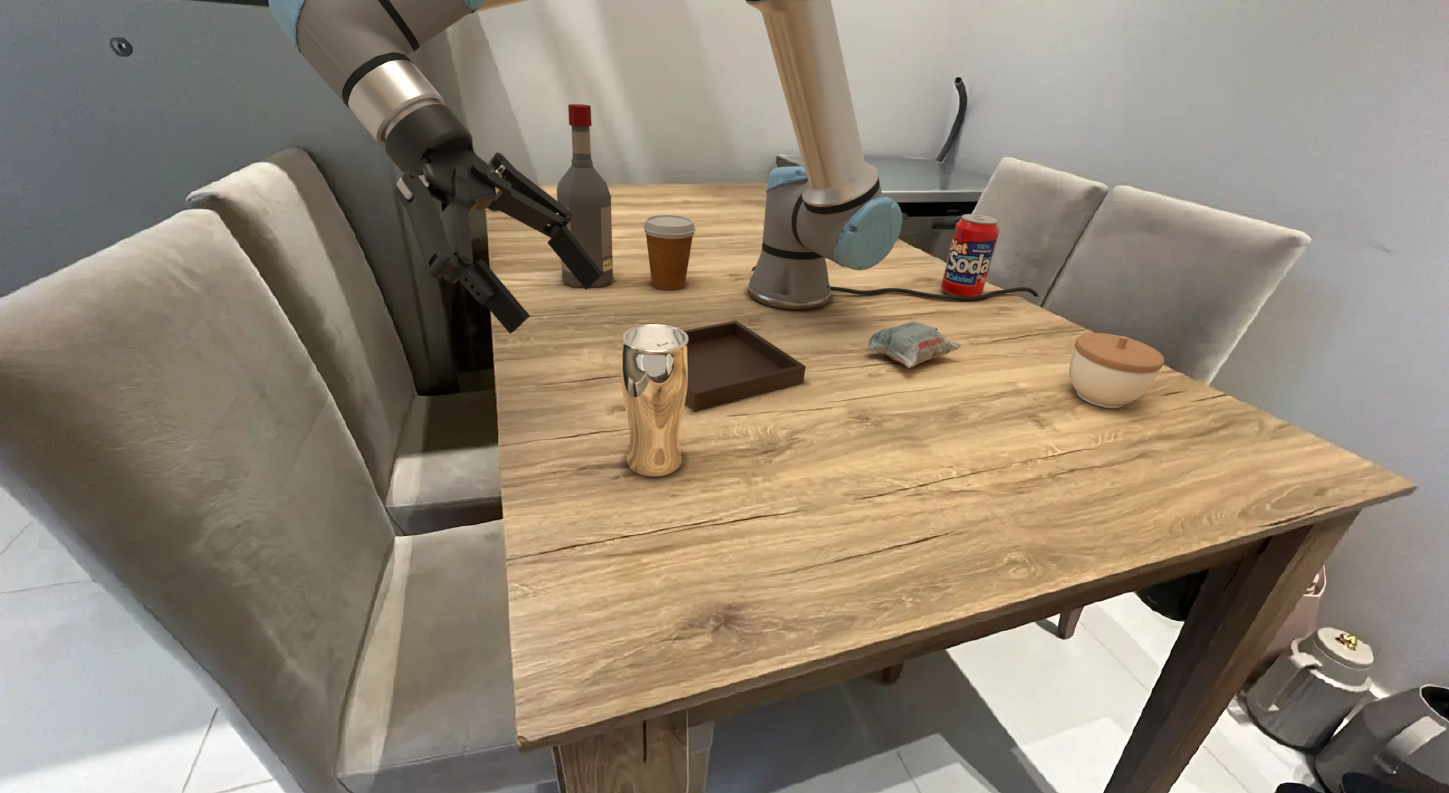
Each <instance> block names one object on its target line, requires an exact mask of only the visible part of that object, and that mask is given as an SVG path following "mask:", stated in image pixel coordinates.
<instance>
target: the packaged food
mask: <svg viewBox="0 0 1449 793" xmlns="http://www.w3.org/2000/svg"><path fill="white" fill-rule="evenodd" d="M961 346H962V344H961V343H960V342H956V341H952V340H950V339H949V338H947V337H946V336H945V335H944V334H943V333H942V332H940V331H939V329H938V327H935V326H931V325H927V324H924V323H920V322H917V321H910V322H907V323H904V324H900V325H897V326H892V327H887V328H885V329H881V330H879V331H876V332H874V333H873V334H872V335H871V337H870V338H869V341H868V344H867V350H868V351H873V350H875V351H877V352H878V353H880V354H881V355H883V356H885V357H886V358H888V359H891V360H893V361H894V362H897V363H899V364H901V365H904V366H905V367H906V368H908V369H909V368H913V367H916V366H917V365H919V364H921V363H924V362H925V361H926V362H927V361H928V362H929V361H930V360H933V359H935V358H938V357H941V356H945V355H948V354H950V353H951V352H955V351H957V350H959V349H961Z"/></svg>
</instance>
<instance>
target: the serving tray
mask: <svg viewBox="0 0 1449 793" xmlns="http://www.w3.org/2000/svg"><path fill="white" fill-rule="evenodd" d="M682 331H684V332H685V333H686V334H687V335H688V338H689V340H688V346H689V386H688V393H687V398H686V403H685V405H687V406H688V407H689V408H690V409H691V410H692V411H693V412H697V411H701V410H705V409H708V408H713V407H716V406H720V405H725V404H728V403H731V402H735V401H739V400H743V399H747V398H750V397H754V396H758V395H763V394H765V393H766V394H767V393H769V392H773V391H777V390H781V389H785V388H789V387H792V386H796V385H800V384H804V382H805V375H806V368H807V367H806V365H805V364H803V363H802V362H800V361H798V360H797V359H795V358H794V357H792V356H791V355H790V354H788V353H786V352H785V351H783V350H782V349H781V348H779V347H777V346H776V345H774V344H773V343H772V342H770V341H768V340H767V339H765V338H764V337H763V336H761V335H759V334H758V333H756V332H755V331H753V330H752V329H750V327H747V326H745V325H744V324H742V323H741V322H740V321H738V320H732V321H726V322H721V323H715V324H711V325H705V326H701V327H694V328H689V329H684V330H682Z"/></svg>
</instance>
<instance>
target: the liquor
mask: <svg viewBox="0 0 1449 793" xmlns="http://www.w3.org/2000/svg"><path fill="white" fill-rule="evenodd" d="M567 110H568V111H567V112H568V126H571V146H572V147H571V148H572V158H571V165H570V166H569V168H568V169H567V170H566V172H565V173H564V174H563V176H562V177H561V178H560V179H559V181H558V183H557V185H556V200H557V201H558V202H559V203H561V204H562V205H563V206H564V207H566V208H567V209H568V210H569V211H570V212H571V213H572V217H571V221H570V222H569V223H568V224H567V227H568V229H569V230H570V232H571V233H572V234H573V235H574V237H575V238H576V239H577V240H578V241H579V243H580V244H581V245H582V246H583V248H584V250H585V252H586V253H587V254H588V255H589V256H590V258H591V259H592V260H593V261H594V263H595V264H596V265H597V266H598V268H599V269H600V270H601V271H602V273H603V275H602V276H601V277H600V278H599V279H598V280H597V281H596V282H595V283H594V284H593V285H591V286H590V287H589V288H602V287H605V286H608V285H611V283H612V282H613V280H614V269H613V268H614V264H613V262H614V259H613V226H612V225H613V222H612V221H613V220H612V219H613V218H612V195H611V193H610V190H609V186H608V184H607V182H606V181H605V179H604V178H603V177H602V176H601V174H600V173H599V172H598V171H597V169H596V168H595V167H594V163H593V160H592V150H591V130H590V128H591V127H592V105H590V104H583V103H572V104H571V103H569V104H567ZM560 262H561V263H560V264H561V278H562V281H563V283H564V285H566V286H568V287H569V286H570V287H573V288H584V287H583V286H582V284H581V283H580V282H579V281H578V280H577V278H576V277H575V276H574V275H573V273H572V272H571V271H570V270H569V269H568V267H567V266H566V265H565V264H564V262H563V261H562V260H561V259H560Z"/></svg>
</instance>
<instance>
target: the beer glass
mask: <svg viewBox="0 0 1449 793" xmlns="http://www.w3.org/2000/svg"><path fill="white" fill-rule="evenodd" d="M688 340H689V338H688V335H687V334H686V333H685V332H684V331H683V330H682V329H681V328H679V327H676V326H673V325H668V324H661V323H648V324H639V325H635V326H632V327H630V328H628V329H627V330H625V331H624V332H623V334H622V335H621V341H622V342H621V353H620V354H621V355H620V385H621V386H620V387H621V393H622V400H623V404H624V408H625V413H626V418H627V423H628V428H629V441H628V442H629V443H628V448H627V453H626V465H627V467H628V468H629V469H630V470H631V471H632V472H634V473H635V474H637V475H641V476H643V477H650V478H657V477H658V478H659V477H664V476H668V475H671V474H673V473H674V472H676V471H677V470H678V469H679V468H680V467H681V465H682V462H683V456H682V449H681V446H680V445H681V444H680V428H681V423H682V419H683V414H684V410H685V407H686V398H687V393H688V386H689V346H688Z"/></svg>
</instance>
